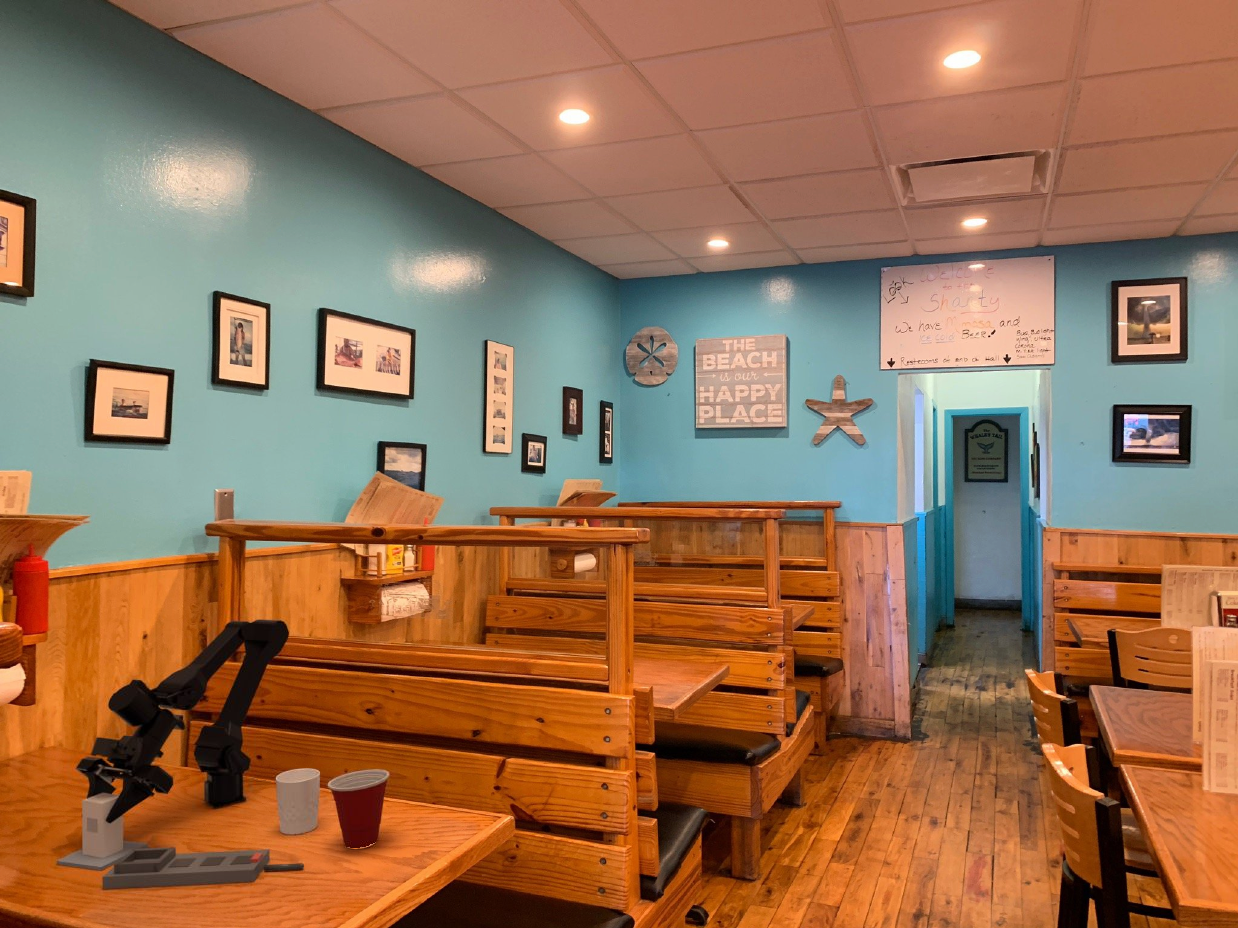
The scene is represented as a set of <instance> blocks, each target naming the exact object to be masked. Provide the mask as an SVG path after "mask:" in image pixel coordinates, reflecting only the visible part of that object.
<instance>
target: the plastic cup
mask: <svg viewBox="0 0 1238 928" xmlns="http://www.w3.org/2000/svg"><path fill="white" fill-rule="evenodd" d="M388 779H390V772H389V771H387V770H384V769H378V768H376V769H364V770H358V771H353V772H348V773H345V774H341V775H339V776H337V777H334V778H333V779H331V780H330V781H329V782H328V783H327V787H328V789H329V790H330V791H331V794H332V795H333V800H334V803H335V808H336V813H337V817H338V822H339V823H338V824H339V829H341V836H342V841H343V843H344V847H345V846H346V847H345V848H347V847H350V848H360V847H366V846H369V845H370V844H373V843H375V842H376V841H377V842H378V839H379V834H380V825H381V823H382V815H383V808H384V807H383V806H384V800H385V794H386V787H387V782H388Z"/></svg>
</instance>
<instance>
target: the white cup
mask: <svg viewBox="0 0 1238 928" xmlns="http://www.w3.org/2000/svg"><path fill="white" fill-rule="evenodd" d="M320 778H321V772H320V770H318V769H315V768H307V767H306V768H297V769H295V768H294V769H290V770H287V771H283V772H280V774H277V776H276V777H275V787H276V803H277V814H278V818H279V819H278V820H279V831H280V833H282V834H283V833H284V835H291V836H292V835H295V834H296V835H302V834H306V832H307V833H309V832H311V831H313V830H315V829H316V828H317V827H318V818H319V817H318V816H319V809H320V808H319V806H320V783H321V782H320ZM301 833H302V834H301Z"/></svg>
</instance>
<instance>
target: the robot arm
mask: <svg viewBox="0 0 1238 928" xmlns="http://www.w3.org/2000/svg"><path fill="white" fill-rule="evenodd" d="M289 637H290V631H289V627H288V626H287V623H286V622H285V621H284V620H280V619H279V620H275V619H255V620H253V621H251V622H250V621H247V620H246V621H244V620H231V621H229V622H227V623H226V624H225V626H224V629H223V630H222V631H221V632H220V633H219V634H218V635H217V636H215V638H213V640H212V641H211V642H210V643H209V644H208V645H206V647H205V648H203V650H202V651H201V652H200V653H199V654H198V655H197V656H196V657H195V658H194V659H193V660H192V661H191V663H189V664H188V665H187V666H186V667H183V668H181V669H179V670H177V671H174V672H172V673H171V674H170V675H169V676H167V677H166V678H164V679H163V680H161V681H160V682H159V684H158V685H157V686H156V687H154V688H152V689H150V688H149V687H148V686H147V685H146V683H145V682H143V680H141V679H132V680H131V681H130V682H129V684H127V685H124V686H122V687H121V688H119V689H118V690H117V691H116V692H114V693H113V694H112V695H111V697H110V698H109V700H108V704H107V706H108V709H109V710H110V711H111V712H112V713H114V714H115V715H116V716H117V717H118V718H120V719H121V720H122V721H123V722H124V723H126V724H127V725H128V726H130V727H133V728H134V727H137V728H136V729H135V730H134V732H133V733H132V735H122V737H121V738H120V739H113V738H108V737H100V736H99V737H98V736H97V737H96V739H95V741H94V745H93V746H92V751H91V752H90V756H86V757H83V758H81V760H80V761H79V763H78V764H77V765H76V767H75V770H76V771H78V773H80V774H82V775H83V776H85V778H87V781H88V785H89V786H88V790H87V795H86V798H85V799H87V798H90V797H92V796H95V795H98V794H101V793H108V794H114V793H115V791H116V790H117V788H116V787H115V786H114V785H112V783H114V781H115V780H121V781H122V789H121V792H120V793H119V794H118V795H119V797H118V798H117V800H116V802H115V803H114V805H113V807H112V809H111V810H110V812H109V814H108V816H107V818H106V822H108V823H112V822H113V821H115V820H116V819H118V818H119V817H120V816H122V815H123V816H124V815H125V814H126V813H127V812H129V811H130V810H132V809H133V808H134V807H136V806H137V805H138V804H139V805H140V804H141V803H143V801H144V802H145V800H147V799H148V798H150V797H154V796H155V793H158V794H164V795H168V794H169V793H170V791H171V789H172V788H173V786H174V777H173V776H172V775H171V774H170V773H168V772H167V771H166V770H164V769H163V768H162V767H160V765H152V763H153V762H154V760H155V759H156V758H158V759H162V757H163V755H164V752H163V751H162V748H163V746H164V745H165V743H166V742H167V740H168V738H169V737H170V735H171V734H172V733H173V731H174V730H178V731H184V730H185V729H186V725H185V721H184V715H183V714H182V715H180V714H175V713H174V712H172V711H171V710H176V711H190V710H192V709H194V708H195V707H196V706H197V705H198V704H199V702H200V700H201V699H202V698H203V696H204V695H205V694H206V692H207V688H208V683H209V681H210V680H211V678H212V677H213V676H214V675H215V674H216V673H217V672H218V671H219V670H220V669H221V667H223V665H225V663H226V662H227V661H228V660H229V659H231V657H232V656H233V655H234V654H235V653H236V652H237V650H239V649H240V647H241V646H242V645H244V646H243V647H244V652H245V653H244V654H245V656H244V659H243V660H242V663H241V666H240V668H239V670H238V672H237V675H236V677H235V679H234V681H233V684H232V686H231V689H230V690H229V693H228V695H227V697H226V700H225V702H224V704H223V707H222V709H221V711H220V713H219V716H218V718H217V720H216V721H215V722H214V723H212V724H211V725H203V726H202V728H201V729H200V732H199V735H198V738H197V740H196V741H195V742H194V744H193V745H194V746H195V747H194V750H193V756H194V759H195V762H196V763H197V765H198V768H199V771H200V773H206V780H204V782H203V786H204V787H203V788H204V789H203V795H204V798H203V799H204V800H203V801H204V802H205V803H206V804H207V805H208V806H210V807H211V808H213V809H218V808H223V807H226V806H230V805H234V804H238V803H241V802H245V801H247V797H246V796H245V795H244V774H245V772H246V771H247V772H248V771H249V769H250V765H251V762H252V761H251V760H252V759H251V757H249V756H248V755H247V754H246V753H244V752H243V750H242V747H243V743H244V738H243V731H242V727H243V723H244V721H245V719H246V716H247V714H248V713H249V709H250V707H251V705H252V702H253V701H254V697H255V695H256V693H257V691H258V688H259V685H260V684H261V681H262V679H263V677H264V674H265V672H266V670H267V667H268V666H269V663H270V662H271V661H272V660H273V659H274V658H276V657H277V656H278V655H279V654H280V653H281V652H282V650H283V648H284V647H285V646H286V643H287V642H288V640H289ZM96 756H100V757H96ZM102 757H103V758H106V760H105V759H103V758H102ZM111 764H112V765H111ZM153 791H154V792H153Z"/></svg>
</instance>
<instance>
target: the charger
mask: <svg viewBox="0 0 1238 928" xmlns="http://www.w3.org/2000/svg"><path fill="white" fill-rule="evenodd" d="M119 795H120V794H114V793H112V794H108V793H101V794H98V795H95V796H92V797H90V798H87V797H86V798H87V799H86V798H84V799H82V800H81V802H82V804H81V808H82V810H81V811H82V814H81V818H82V823H81V824H82V827H81V828H82V849H83V855H88V856H93V857H98V858H105V857H107V856H109V855H112V854H114V853H116V852H119V851H121V850H123V841H124V814H123V815H122V816H120V817H119V818H118V819H116V820H115V821H113V822H112V823H108V822H106V818H107V816H108V814H109V812H110V810H111V809H112V807H113V805H114V803H115V802H116V800H117V798H118V797H119Z"/></svg>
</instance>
